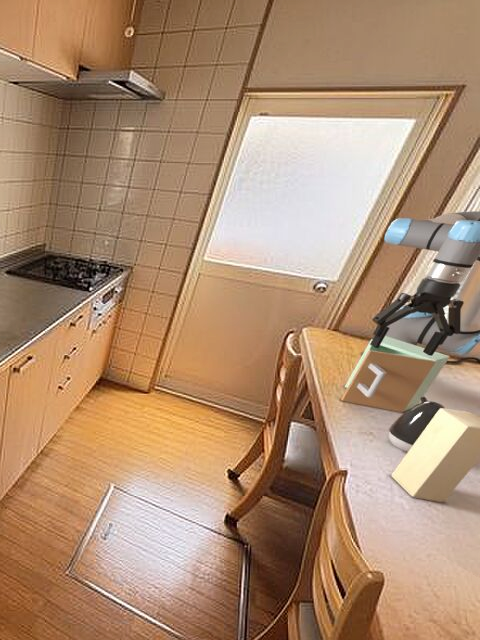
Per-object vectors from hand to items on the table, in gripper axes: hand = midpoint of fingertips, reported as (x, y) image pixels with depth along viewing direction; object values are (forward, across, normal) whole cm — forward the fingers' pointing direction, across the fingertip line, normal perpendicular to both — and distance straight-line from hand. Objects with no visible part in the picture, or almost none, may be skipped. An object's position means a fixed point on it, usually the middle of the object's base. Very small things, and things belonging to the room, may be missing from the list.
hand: (400, 350), depth 124 cm
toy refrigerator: (+23, -7, -38) cm, 45 cm away
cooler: (+23, +14, +17) cm, 32 cm away
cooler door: (+23, +6, +4) cm, 24 cm away
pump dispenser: (+23, +2, -18) cm, 29 cm away
